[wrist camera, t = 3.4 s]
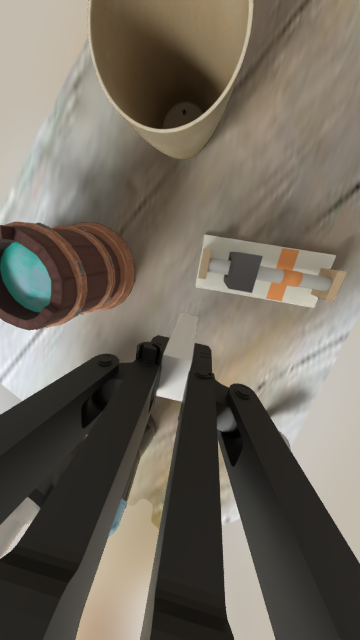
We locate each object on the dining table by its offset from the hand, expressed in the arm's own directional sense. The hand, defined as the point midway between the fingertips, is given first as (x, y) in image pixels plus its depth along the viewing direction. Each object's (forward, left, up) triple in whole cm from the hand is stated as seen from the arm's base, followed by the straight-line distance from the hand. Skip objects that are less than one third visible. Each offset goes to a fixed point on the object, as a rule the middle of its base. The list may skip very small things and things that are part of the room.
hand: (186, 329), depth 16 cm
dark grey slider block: (+7, +4, -24) cm, 25 cm away
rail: (+12, +4, -26) cm, 29 cm away
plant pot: (-7, +24, -26) cm, 36 cm away
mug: (-25, -1, -26) cm, 36 cm away
